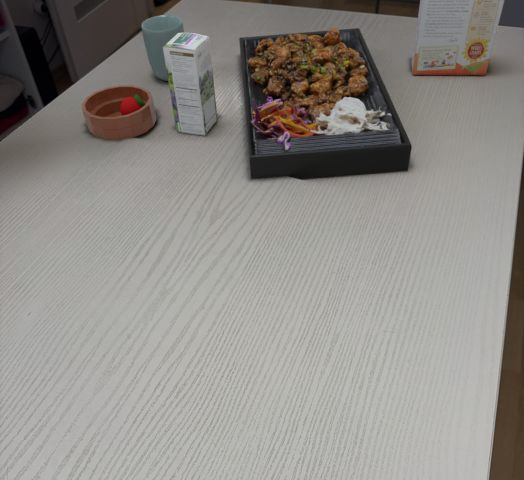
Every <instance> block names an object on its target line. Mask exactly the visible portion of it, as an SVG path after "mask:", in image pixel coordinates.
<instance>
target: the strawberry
mask: <svg viewBox="0 0 524 480" xmlns="http://www.w3.org/2000/svg"><path fill="white" fill-rule="evenodd" d="M145 105H146V104H145V103H144V101H143V100H142V99H141V98H140V97H139V96H138V95H137V94H136V95H135V96H134V97H127V98H125V99H124V100H123V101H122V102H121V105H120V111H121V114H122V116H123V115H128V114H130V113H133V112H135V111H138V110H139V109H141V108H142V107H143V106H145Z"/></svg>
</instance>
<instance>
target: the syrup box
mask: <svg viewBox="0 0 524 480" xmlns="http://www.w3.org/2000/svg"><path fill="white" fill-rule="evenodd" d="M163 52H164V58H165V64H166V70H167V76H168V81H167V82H168V88H169V94H170V100H171V105H172V111H173V118H174V123H175V130H176V132H177V133H181V134H182V133H183V134H188V135H195V136H196V135H198V136H207V134H208V133H209V132H210V131H211V129H213V127H214V126H215V124H216V123H217V121H218V111H217V100H216V91H215V82H214V81H215V80H214V72H213V70H214V69H213V61H212V53H211V42H210V37H209V36H208V35H204V34H200V33H195V32H184V33H178V34H176V35H175V36H174V37H173V38H172V39H171V40H170V41H169V42H168V43H167V44H166V45H165V46H164V47H163Z"/></svg>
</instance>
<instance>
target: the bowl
mask: <svg viewBox="0 0 524 480" xmlns="http://www.w3.org/2000/svg"><path fill="white" fill-rule="evenodd" d="M136 94H137V95H138V96H139V97H140V98H141V99H142V100H143V101H144V103H145V104H146V105H145V106H143V107H142V108H141V109H139V110H138V111H135V112H133V113H130V114H128V115H123V116H122V114H121V111H120V105H121V102H122V101H123V100H124V99H125V98H127V97H134V96H135V95H136ZM81 109H82V113H83V117H84V120H85V123H86V126H87V129H88V132H89V133H91V134H92V135H93V136H94V137H96V138H100V139H104V140H123V139H129V138H136V137H138V136H141V135H143V134H145V133H147V132H148V131H149V130H150V129H152V128H153V127H154V126H155V123H156V121H157V115H156V109H155V103H154V100H153V95H152V94H151V91H149V90H147V89H146V88H144V87H142V86H138V85H131V84H126V85H125V84H124V85H123V84H120V85H114V86H109V87H105V88H102V89H100V90H96V91H95V92H94V91H93V92H92V93H91V94H89V95H88V96H86V97H85V99H84V100H83V102H82V103H81Z"/></svg>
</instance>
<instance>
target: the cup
mask: <svg viewBox="0 0 524 480" xmlns="http://www.w3.org/2000/svg"><path fill="white" fill-rule="evenodd" d="M140 27H141V33H142V38H143V44H144V49H145V52H146V56H147V60H148V64H149V66H150V68H151V71H152V72H153V74H154V75H155V77H157V78H158V79H159V80H162V81H165V82H168V76H167V70H166V64H165V58H164V52H163V47H164V46H165V45H166V44H167V43H168V42H169V41H170V40H171V39H172V38H173V37H174V36H175V35H176V34H178V33H185V27H184V23H183V20H182V18H180V17H179V16H176V15H172V14H161V15H155V16H151V17H149V18H147V19H144V20H143V21H142V22H141V26H140Z"/></svg>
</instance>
